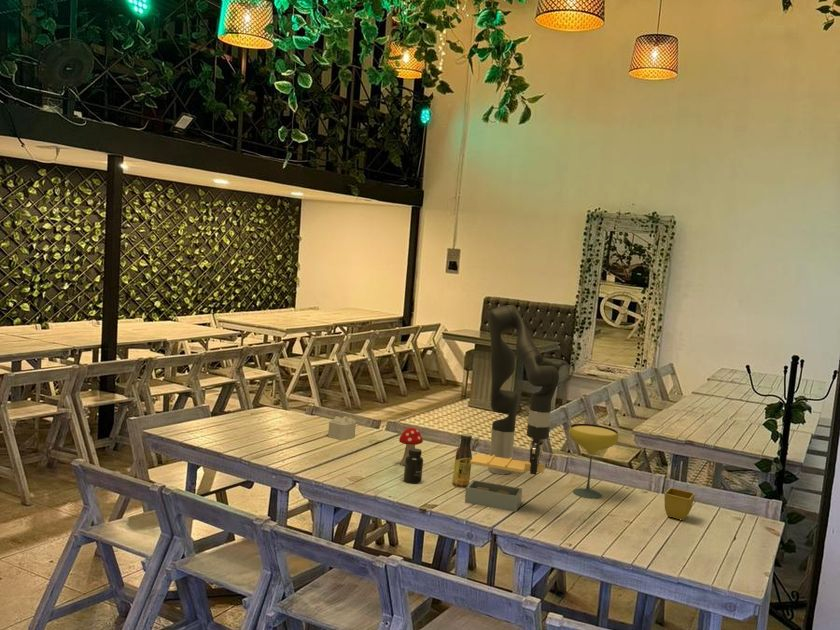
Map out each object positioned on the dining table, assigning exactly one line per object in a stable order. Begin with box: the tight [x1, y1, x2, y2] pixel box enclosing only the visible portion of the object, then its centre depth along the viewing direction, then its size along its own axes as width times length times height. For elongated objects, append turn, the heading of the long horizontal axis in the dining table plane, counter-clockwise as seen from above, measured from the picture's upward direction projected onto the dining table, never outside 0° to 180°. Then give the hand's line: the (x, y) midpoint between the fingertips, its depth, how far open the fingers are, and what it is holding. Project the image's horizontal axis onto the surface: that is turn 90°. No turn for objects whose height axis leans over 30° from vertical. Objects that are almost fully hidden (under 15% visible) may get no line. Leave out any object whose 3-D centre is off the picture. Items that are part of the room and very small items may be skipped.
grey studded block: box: [327, 415, 357, 441], centre depth 331 cm, size 10×13×9 cm
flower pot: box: [663, 487, 696, 521], centre depth 258 cm, size 9×9×9 cm
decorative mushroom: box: [398, 427, 424, 466], centre depth 295 cm, size 10×9×15 cm
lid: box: [470, 453, 546, 474], centre depth 253 cm, size 11×25×2 cm, turn 73°
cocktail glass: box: [568, 423, 619, 499], centre depth 276 cm, size 18×18×25 cm
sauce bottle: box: [452, 433, 473, 489], centre depth 271 cm, size 6×6×20 cm
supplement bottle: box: [403, 447, 424, 484], centre depth 274 cm, size 7×7×12 cm
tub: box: [464, 479, 523, 513], centre depth 255 cm, size 10×18×6 cm, turn 73°
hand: (534, 472), depth 250 cm, fingers closed on lid, 3 cm apart
